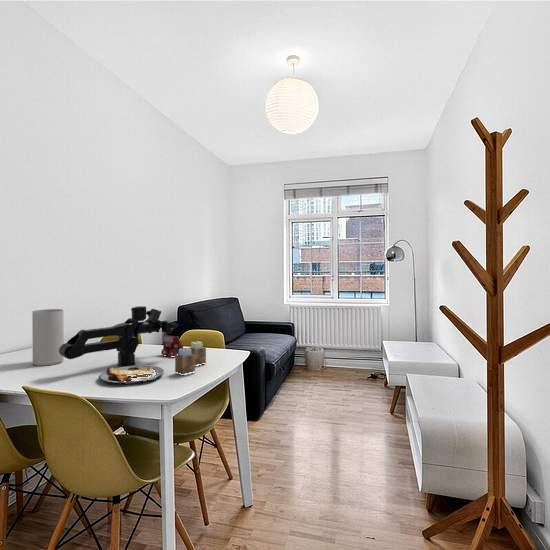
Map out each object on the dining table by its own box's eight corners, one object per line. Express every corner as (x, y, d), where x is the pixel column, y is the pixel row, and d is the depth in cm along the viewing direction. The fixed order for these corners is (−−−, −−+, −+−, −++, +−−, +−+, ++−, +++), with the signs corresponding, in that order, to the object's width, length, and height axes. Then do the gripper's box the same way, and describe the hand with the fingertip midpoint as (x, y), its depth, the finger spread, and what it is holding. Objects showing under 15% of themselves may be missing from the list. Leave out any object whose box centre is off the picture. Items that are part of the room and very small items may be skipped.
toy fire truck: (177, 358, 181) (177, 338, 181) (158, 356, 186) (158, 336, 186) (186, 355, 187) (186, 335, 187) (167, 353, 192) (168, 333, 192)
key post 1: (195, 367, 165) (195, 349, 165) (187, 364, 169) (187, 347, 169) (205, 364, 170) (205, 347, 170) (198, 362, 174) (198, 345, 174)
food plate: (93, 388, 135) (93, 379, 135) (104, 372, 157) (104, 364, 157) (163, 384, 142) (163, 375, 142) (164, 369, 164) (164, 361, 164)
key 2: (183, 369, 153) (184, 350, 152) (178, 367, 155) (178, 348, 155) (191, 367, 155) (191, 348, 155) (186, 365, 158) (186, 347, 158)
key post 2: (183, 376, 151) (183, 357, 151) (175, 373, 155) (175, 355, 155) (195, 373, 156) (195, 354, 155) (186, 370, 160) (187, 352, 159)
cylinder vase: (48, 367, 164) (48, 312, 163) (25, 365, 166) (25, 311, 166) (69, 360, 176) (69, 309, 176) (48, 358, 179) (47, 308, 178)
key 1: (195, 360, 167) (196, 343, 167) (191, 359, 169) (191, 342, 169) (202, 359, 170) (202, 342, 170) (197, 357, 172) (197, 341, 172)
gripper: (155, 312, 169) (184, 310, 180) (136, 309, 181) (163, 306, 193) (155, 336, 169) (183, 332, 180) (136, 331, 181) (163, 327, 193)
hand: (173, 323), depth 187 cm, fingers open, 9 cm apart
